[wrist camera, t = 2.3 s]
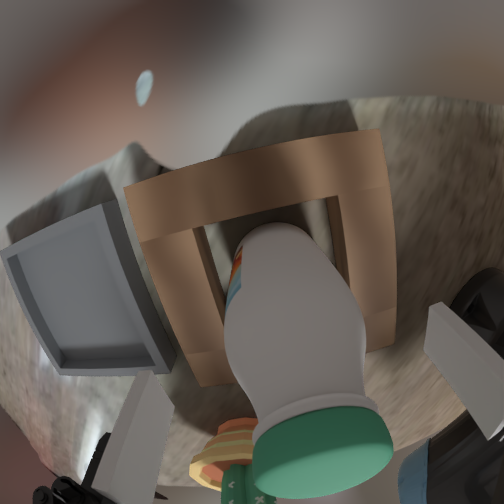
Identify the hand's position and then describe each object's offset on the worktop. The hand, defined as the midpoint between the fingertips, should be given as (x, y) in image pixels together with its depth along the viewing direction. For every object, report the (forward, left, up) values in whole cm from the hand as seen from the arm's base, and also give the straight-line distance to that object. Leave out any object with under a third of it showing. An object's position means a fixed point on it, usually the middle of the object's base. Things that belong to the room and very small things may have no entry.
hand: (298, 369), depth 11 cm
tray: (+22, 0, -15) cm, 26 cm away
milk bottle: (0, 0, -15) cm, 15 cm away
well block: (0, 0, -15) cm, 14 cm away
